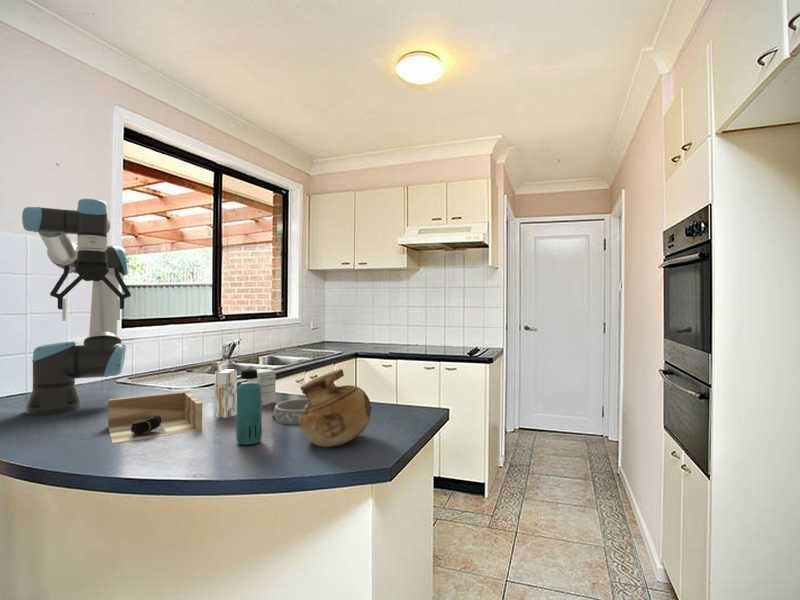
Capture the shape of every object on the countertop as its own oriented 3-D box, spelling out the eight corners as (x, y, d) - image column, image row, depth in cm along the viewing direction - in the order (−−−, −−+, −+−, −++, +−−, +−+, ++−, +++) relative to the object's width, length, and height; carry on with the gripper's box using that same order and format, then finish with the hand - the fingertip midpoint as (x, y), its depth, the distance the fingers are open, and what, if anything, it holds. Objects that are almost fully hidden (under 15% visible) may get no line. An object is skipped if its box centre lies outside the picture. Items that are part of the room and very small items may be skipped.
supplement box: (246, 405, 163) (246, 370, 163) (262, 401, 169) (263, 368, 169) (259, 408, 159) (259, 372, 159) (276, 404, 165) (276, 370, 165)
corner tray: (108, 427, 134) (108, 399, 134) (188, 416, 147) (188, 391, 147) (112, 445, 118) (112, 413, 118) (202, 431, 131) (202, 402, 131)
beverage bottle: (247, 452, 113) (247, 372, 113) (230, 447, 117) (230, 370, 117) (267, 445, 119) (267, 369, 119) (250, 440, 122) (251, 367, 122)
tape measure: (163, 424, 130) (160, 412, 130) (157, 431, 124) (153, 418, 123) (138, 431, 129) (134, 419, 128) (130, 439, 122) (126, 426, 122)
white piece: (209, 418, 145) (209, 371, 145) (225, 413, 152) (225, 368, 152) (226, 420, 142) (226, 373, 142) (241, 415, 149) (242, 370, 149)
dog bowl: (278, 431, 132) (278, 413, 132) (268, 416, 149) (269, 400, 149) (334, 425, 139) (334, 407, 139) (319, 411, 156) (319, 396, 156)
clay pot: (308, 434, 129) (309, 364, 129) (373, 435, 128) (374, 364, 128) (290, 457, 110) (290, 375, 110) (366, 458, 109) (367, 375, 109)
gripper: (39, 246, 127) (38, 321, 127) (140, 252, 142) (140, 319, 142) (41, 248, 133) (40, 320, 133) (138, 254, 148) (137, 319, 148)
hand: (91, 320), depth 137 cm, fingers open, 13 cm apart
